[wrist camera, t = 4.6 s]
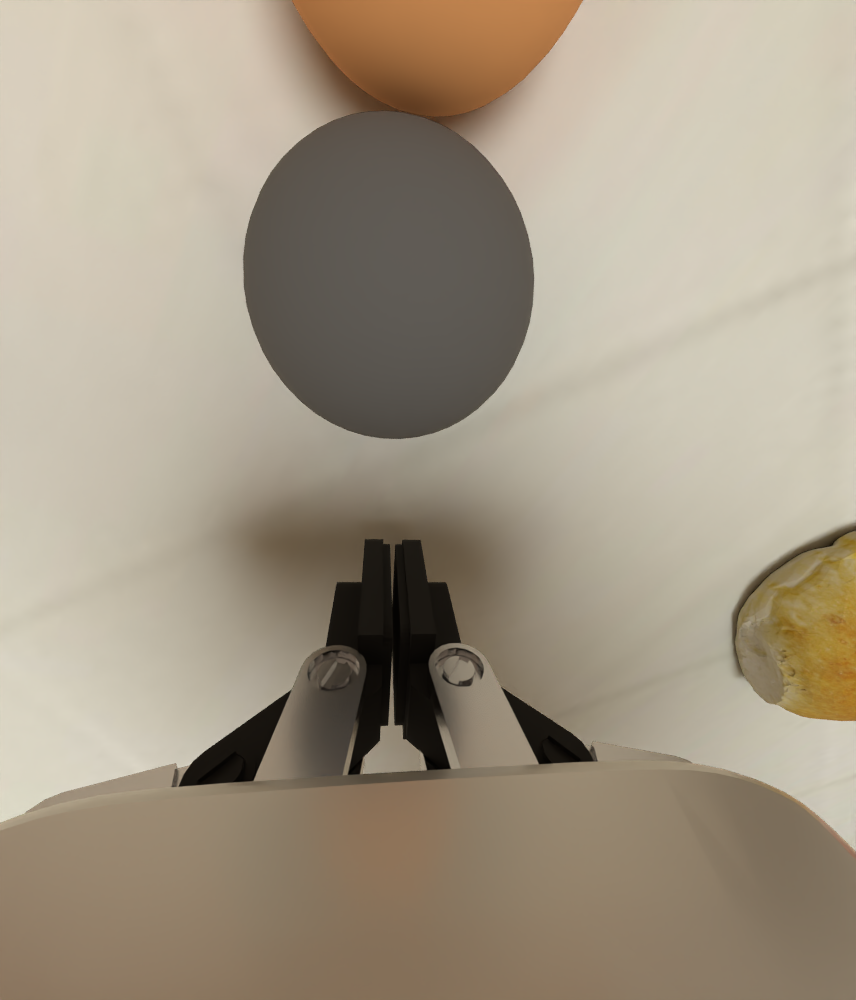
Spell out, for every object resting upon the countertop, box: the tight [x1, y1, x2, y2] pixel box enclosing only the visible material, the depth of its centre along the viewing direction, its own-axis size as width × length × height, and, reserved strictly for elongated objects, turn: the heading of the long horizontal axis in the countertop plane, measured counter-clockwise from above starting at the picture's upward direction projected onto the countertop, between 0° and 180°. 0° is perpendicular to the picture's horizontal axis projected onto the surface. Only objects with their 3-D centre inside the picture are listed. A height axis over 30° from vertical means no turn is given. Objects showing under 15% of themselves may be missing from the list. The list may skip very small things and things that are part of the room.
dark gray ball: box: [243, 111, 534, 439], centre depth 8 cm, size 6×6×6 cm
